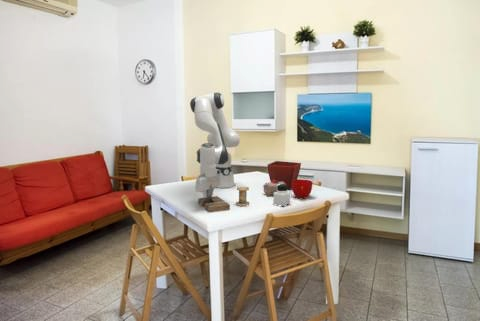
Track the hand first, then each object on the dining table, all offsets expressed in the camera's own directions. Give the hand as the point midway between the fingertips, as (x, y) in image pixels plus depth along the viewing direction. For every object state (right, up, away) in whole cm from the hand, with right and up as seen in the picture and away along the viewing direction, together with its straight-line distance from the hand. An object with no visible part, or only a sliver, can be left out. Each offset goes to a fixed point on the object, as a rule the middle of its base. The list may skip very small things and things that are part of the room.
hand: (208, 196), depth 208 cm
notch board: (+3, -6, +2) cm, 7 cm away
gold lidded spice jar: (0, -4, 0) cm, 4 cm away
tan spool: (+20, -5, +6) cm, 21 cm away
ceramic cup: (+57, -3, +21) cm, 61 cm away
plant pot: (+49, +1, +50) cm, 70 cm away
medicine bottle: (+43, -6, +7) cm, 43 cm away
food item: (+41, -2, +29) cm, 50 cm away
